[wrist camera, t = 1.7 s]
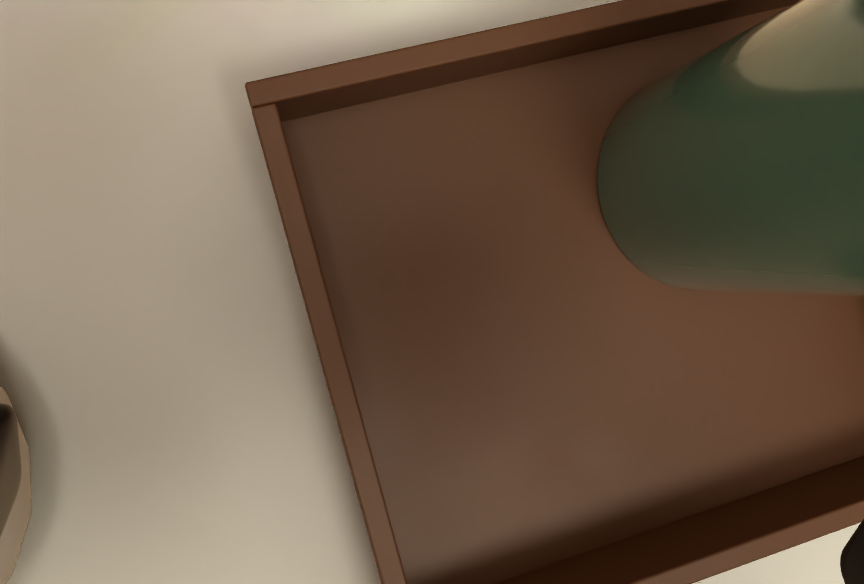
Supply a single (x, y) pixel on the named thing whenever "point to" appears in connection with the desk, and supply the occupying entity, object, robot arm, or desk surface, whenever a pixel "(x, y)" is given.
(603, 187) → the pen pot
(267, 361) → the desk surface
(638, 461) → the tray
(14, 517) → the donut
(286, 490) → the desk surface
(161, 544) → the desk surface
